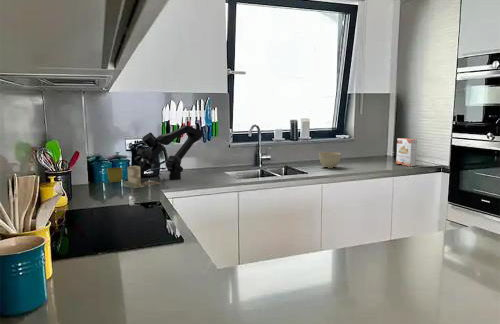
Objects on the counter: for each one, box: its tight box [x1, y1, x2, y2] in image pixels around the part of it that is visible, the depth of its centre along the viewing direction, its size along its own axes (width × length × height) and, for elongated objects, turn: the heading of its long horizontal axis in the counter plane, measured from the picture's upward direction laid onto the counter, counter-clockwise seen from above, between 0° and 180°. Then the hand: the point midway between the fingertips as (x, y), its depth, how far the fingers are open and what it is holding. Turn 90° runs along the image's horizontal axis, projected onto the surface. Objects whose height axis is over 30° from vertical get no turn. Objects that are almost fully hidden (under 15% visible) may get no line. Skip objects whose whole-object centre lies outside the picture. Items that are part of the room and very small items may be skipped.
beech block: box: [126, 165, 142, 187], centre depth 217 cm, size 5×5×11 cm
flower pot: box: [106, 167, 123, 184], centre depth 233 cm, size 9×9×9 cm
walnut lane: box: [122, 180, 162, 189], centre depth 221 cm, size 19×10×4 cm, turn 138°
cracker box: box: [395, 137, 418, 167], centre depth 297 cm, size 14×6×21 cm, turn 25°
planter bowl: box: [318, 151, 342, 169], centre depth 290 cm, size 16×16×11 cm
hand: (138, 173), depth 218 cm, fingers closed, pressing on beech block
